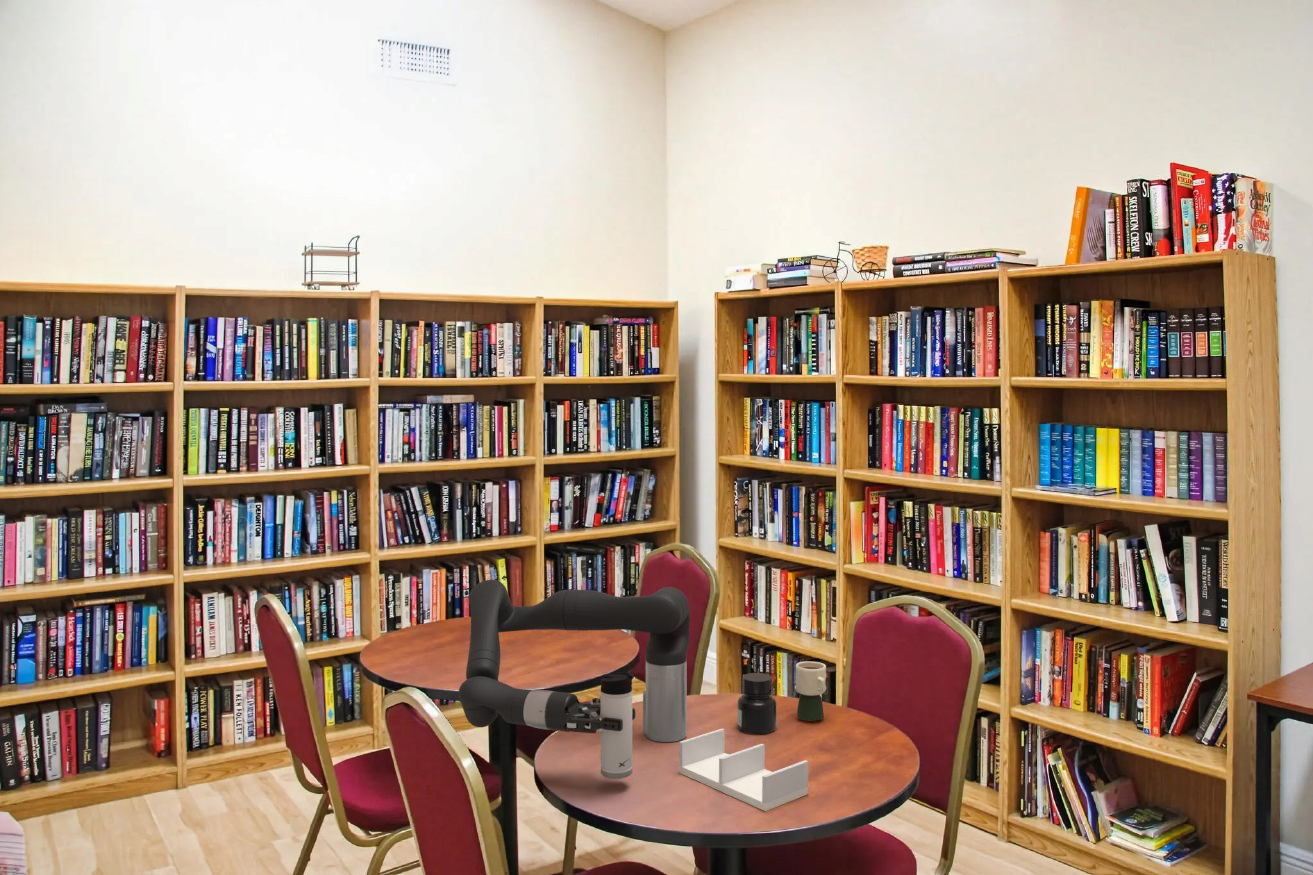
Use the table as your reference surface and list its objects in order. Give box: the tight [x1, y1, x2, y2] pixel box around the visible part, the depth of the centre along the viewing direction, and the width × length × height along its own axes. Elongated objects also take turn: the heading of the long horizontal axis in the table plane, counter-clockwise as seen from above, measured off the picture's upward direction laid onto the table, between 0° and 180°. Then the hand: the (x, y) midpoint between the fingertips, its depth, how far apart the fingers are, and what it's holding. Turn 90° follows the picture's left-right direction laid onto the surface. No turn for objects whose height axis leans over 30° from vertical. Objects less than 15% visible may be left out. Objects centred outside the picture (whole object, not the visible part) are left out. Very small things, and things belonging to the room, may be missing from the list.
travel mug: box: [599, 671, 635, 780], centre depth 200 cm, size 6×7×20 cm
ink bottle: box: [736, 672, 777, 735], centre depth 234 cm, size 10×9×12 cm
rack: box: [679, 728, 809, 812], centre depth 202 cm, size 24×12×6 cm, turn 41°
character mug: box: [795, 660, 827, 722], centre depth 240 cm, size 11×7×13 cm, turn 25°
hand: (628, 719), depth 199 cm, fingers closed on travel mug, 6 cm apart
